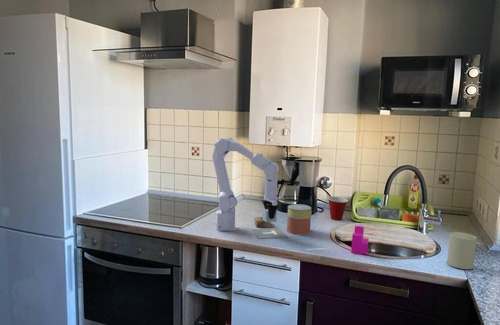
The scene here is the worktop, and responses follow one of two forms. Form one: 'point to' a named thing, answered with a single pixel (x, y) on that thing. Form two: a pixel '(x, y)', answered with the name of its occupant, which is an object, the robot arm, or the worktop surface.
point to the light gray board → (269, 233)
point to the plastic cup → (337, 207)
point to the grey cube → (266, 216)
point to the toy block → (359, 241)
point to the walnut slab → (261, 222)
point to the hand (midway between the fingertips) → (269, 217)
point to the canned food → (299, 219)
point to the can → (461, 250)
